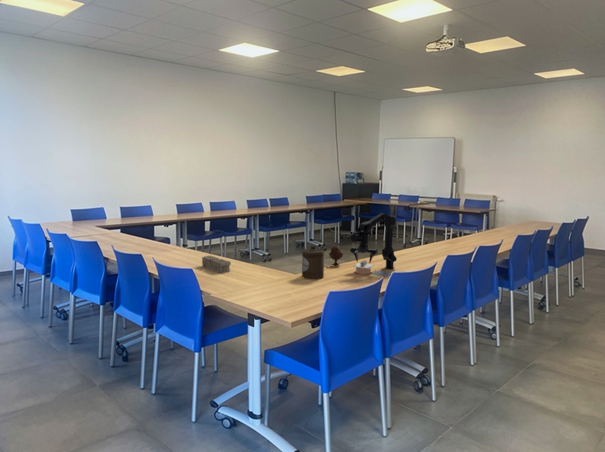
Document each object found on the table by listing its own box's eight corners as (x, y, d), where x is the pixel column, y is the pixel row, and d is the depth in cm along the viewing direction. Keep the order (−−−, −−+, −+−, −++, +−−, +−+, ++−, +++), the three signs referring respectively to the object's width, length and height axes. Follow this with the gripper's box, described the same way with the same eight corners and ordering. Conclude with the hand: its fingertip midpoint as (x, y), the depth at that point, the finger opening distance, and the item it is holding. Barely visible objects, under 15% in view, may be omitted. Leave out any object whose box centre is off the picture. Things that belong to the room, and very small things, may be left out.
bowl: (359, 270, 315) (359, 264, 314) (372, 272, 310) (372, 265, 309) (353, 273, 307) (353, 266, 306) (366, 275, 301) (366, 268, 301)
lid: (357, 263, 315) (357, 259, 315) (373, 265, 311) (373, 260, 310) (353, 267, 304) (353, 262, 304) (369, 268, 300) (370, 263, 299)
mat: (374, 270, 315) (374, 270, 315) (393, 273, 309) (393, 272, 309) (369, 275, 302) (369, 274, 302) (389, 277, 297) (389, 276, 296)
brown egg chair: (342, 267, 326) (342, 247, 324) (327, 266, 328) (328, 246, 326) (343, 264, 336) (344, 245, 334) (329, 263, 338) (329, 244, 336)
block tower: (201, 267, 321) (221, 274, 299) (201, 256, 320) (220, 262, 298) (210, 266, 326) (230, 272, 304) (210, 255, 325) (230, 260, 303)
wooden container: (301, 274, 301) (301, 243, 298) (322, 274, 303) (322, 243, 300) (302, 279, 287) (303, 247, 284) (325, 279, 288) (325, 247, 285)
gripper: (348, 241, 301) (347, 263, 303) (374, 243, 294) (373, 266, 296) (352, 239, 312) (352, 260, 314) (378, 241, 304) (377, 263, 306)
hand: (363, 262), depth 307 cm, fingers open, 9 cm apart
